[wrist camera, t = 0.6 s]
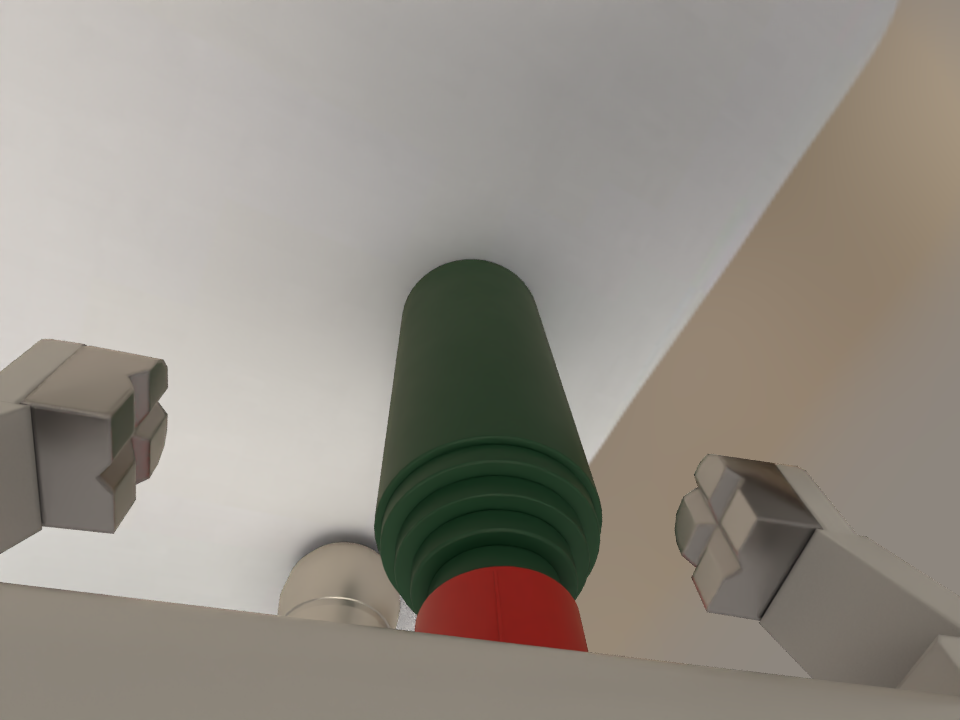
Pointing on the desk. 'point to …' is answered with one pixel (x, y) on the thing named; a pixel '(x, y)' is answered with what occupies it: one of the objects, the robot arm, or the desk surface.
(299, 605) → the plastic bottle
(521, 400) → the bottle
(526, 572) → the cap
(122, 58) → the desk surface
